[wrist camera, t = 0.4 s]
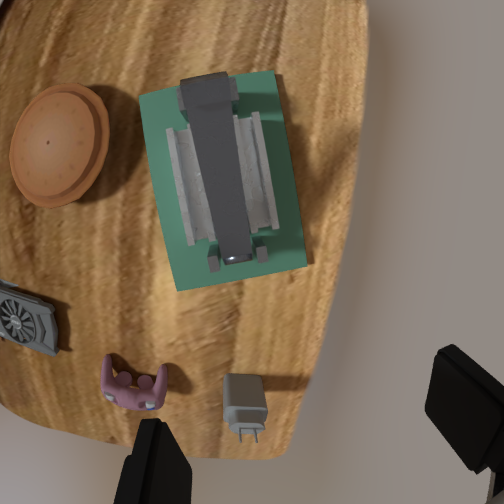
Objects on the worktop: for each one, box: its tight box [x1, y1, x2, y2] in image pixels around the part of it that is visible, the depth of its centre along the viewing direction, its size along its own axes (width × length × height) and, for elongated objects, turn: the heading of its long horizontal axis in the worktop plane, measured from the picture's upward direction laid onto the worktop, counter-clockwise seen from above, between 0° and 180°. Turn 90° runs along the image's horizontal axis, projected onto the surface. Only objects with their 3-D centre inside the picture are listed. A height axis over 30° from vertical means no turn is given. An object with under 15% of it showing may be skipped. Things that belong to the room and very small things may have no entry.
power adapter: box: [223, 373, 268, 443], centre depth 35 cm, size 3×5×12 cm, turn 82°
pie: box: [9, 83, 110, 209], centre depth 29 cm, size 16×16×5 cm
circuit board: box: [139, 70, 307, 292], centre depth 34 cm, size 24×16×1 cm, turn 10°
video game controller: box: [101, 354, 168, 410], centre depth 37 cm, size 10×5×7 cm, turn 82°
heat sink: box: [166, 77, 279, 273], centre depth 30 cm, size 18×10×6 cm, turn 10°
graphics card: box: [0, 279, 60, 357], centre depth 35 cm, size 17×4×12 cm
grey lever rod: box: [180, 71, 253, 266], centre depth 24 cm, size 19×3×2 cm
